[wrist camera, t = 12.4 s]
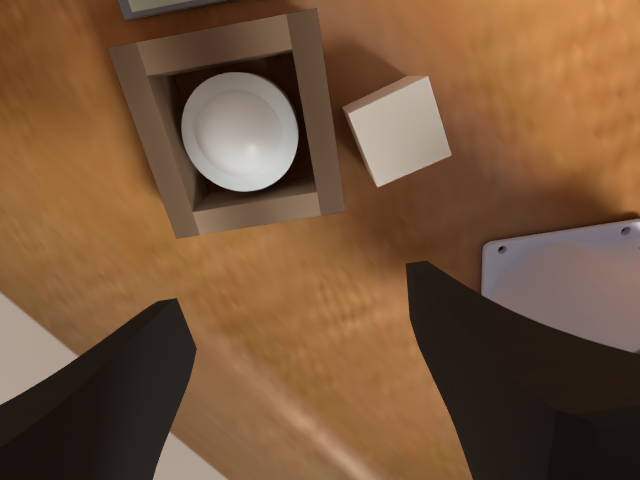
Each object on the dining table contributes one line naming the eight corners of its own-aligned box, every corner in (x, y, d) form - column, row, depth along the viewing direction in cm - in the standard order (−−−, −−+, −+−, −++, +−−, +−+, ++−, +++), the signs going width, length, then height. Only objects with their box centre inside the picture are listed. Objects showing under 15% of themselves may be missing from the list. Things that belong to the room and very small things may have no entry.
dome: (288, 63, 17) (282, 60, 14) (307, 169, 19) (306, 191, 16) (183, 82, 18) (150, 84, 14) (214, 185, 20) (192, 209, 16)
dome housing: (316, 19, 17) (316, 8, 14) (341, 193, 20) (345, 211, 17) (139, 52, 17) (106, 47, 14) (194, 216, 20) (176, 238, 18)
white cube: (407, 75, 18) (428, 75, 15) (428, 141, 19) (451, 155, 16) (341, 107, 18) (347, 113, 15) (366, 169, 20) (377, 187, 16)
